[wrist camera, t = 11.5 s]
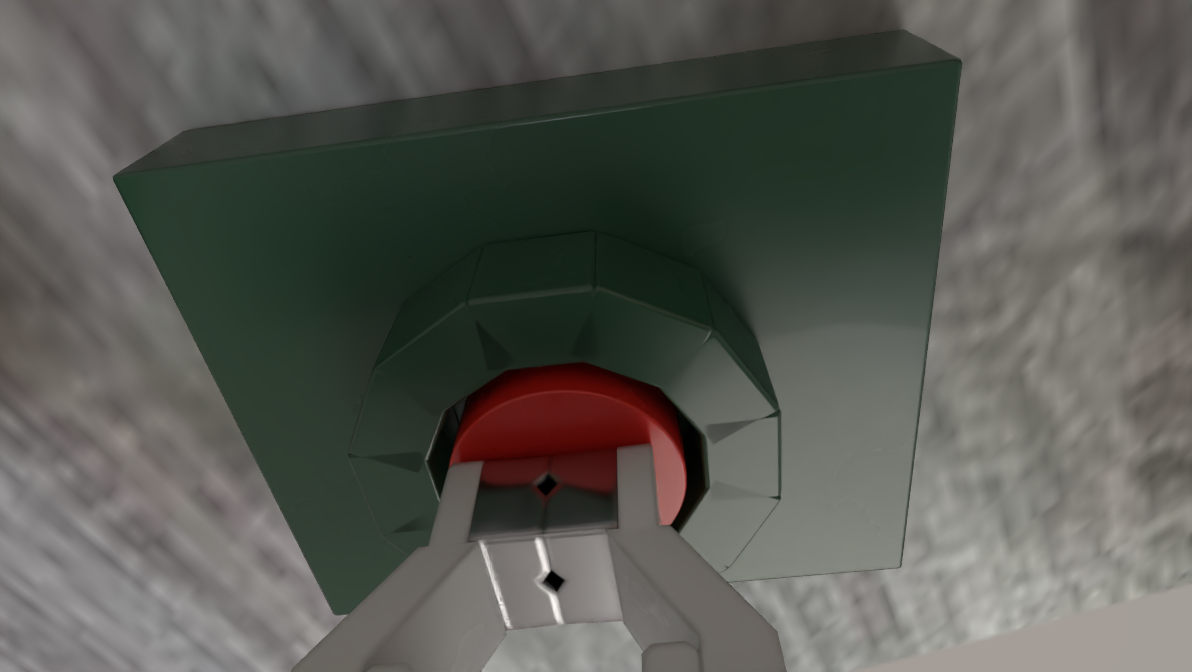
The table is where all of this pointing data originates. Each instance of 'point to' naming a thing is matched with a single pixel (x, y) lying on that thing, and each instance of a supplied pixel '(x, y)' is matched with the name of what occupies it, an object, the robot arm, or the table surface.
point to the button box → (580, 288)
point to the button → (574, 421)
